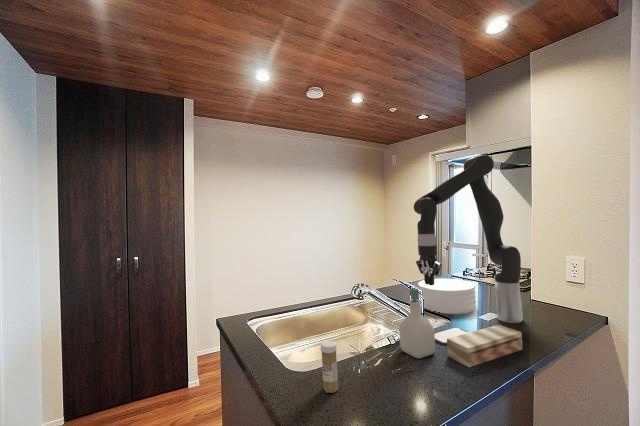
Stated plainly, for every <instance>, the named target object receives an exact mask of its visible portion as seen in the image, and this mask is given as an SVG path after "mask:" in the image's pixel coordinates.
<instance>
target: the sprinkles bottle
mask: <svg viewBox="0 0 640 426" xmlns="http://www.w3.org/2000/svg"><path fill="white" fill-rule="evenodd" d="M337 348H338V347H337V343H336V342H335V341H333V340H324V341H322V342H321V343H320V351H321V363H322V364H321V365H322V368H321V371H322V372H321V373H322V389H323V388H324V390H326V391H330V392H331V391H332V392H333V391H336V390H337V389H338V390H339V384H338V383H339V382H338V378H339V377H338V360H337V359H338V358H337ZM324 390H323V391H324Z"/></svg>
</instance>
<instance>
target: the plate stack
mask: <svg viewBox="0 0 640 426" xmlns="http://www.w3.org/2000/svg"><path fill="white" fill-rule="evenodd" d="M417 286H418V287H417V289H420V290H422V292H423V297H424V306H425V308H426V309H429V310H432V311H431V312H433V311H436V312H435V313H438V312H440V313H439V314H445V315H446V314H448V315H452V314H453V315H459V314H460V315H461V314H468V313H472V312H474V311H476V309H477V300H476V298H477V297H476V285H475V284H474V283H473V282H471V281H469V280H468V281H467V280H462V279H455V278H434V285H429V284H425V280H424V279H423V280H420V281H419V282H417ZM426 309H425V310H426ZM429 310H428V311H429Z"/></svg>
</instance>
